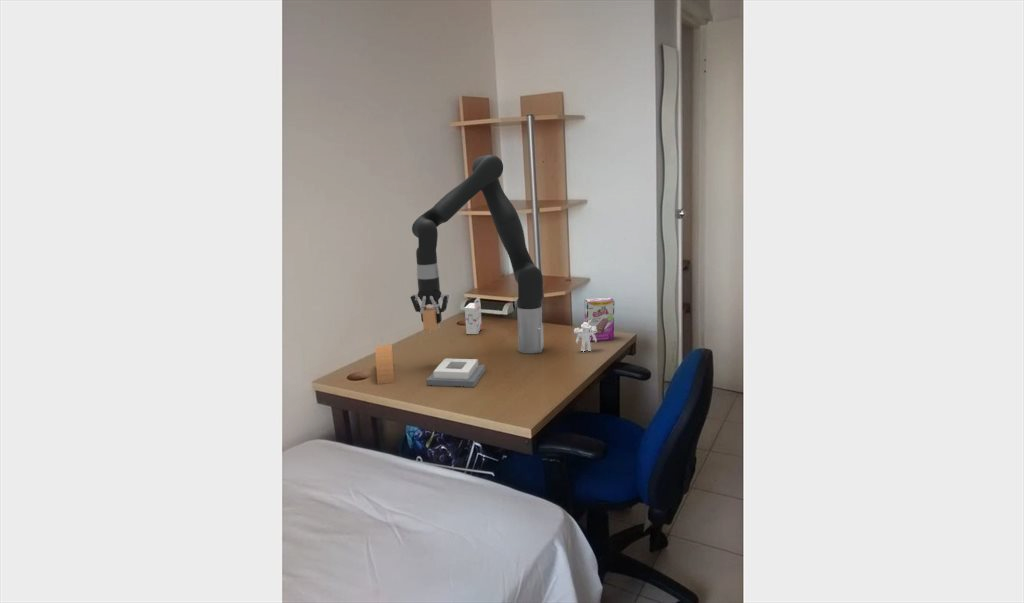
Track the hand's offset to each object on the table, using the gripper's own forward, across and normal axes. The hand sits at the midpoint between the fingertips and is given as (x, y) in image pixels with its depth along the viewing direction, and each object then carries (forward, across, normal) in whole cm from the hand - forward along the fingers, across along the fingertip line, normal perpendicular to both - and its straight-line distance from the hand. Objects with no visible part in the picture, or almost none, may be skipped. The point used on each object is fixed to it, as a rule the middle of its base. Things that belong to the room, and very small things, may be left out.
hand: (431, 322), depth 227 cm
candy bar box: (+17, -57, -36) cm, 69 cm away
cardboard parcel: (+3, 0, 0) cm, 3 cm away
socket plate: (+16, -12, +12) cm, 23 cm away
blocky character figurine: (+17, -53, -21) cm, 59 cm away
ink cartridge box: (+16, -4, -42) cm, 45 cm away
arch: (+16, +15, +10) cm, 24 cm away
